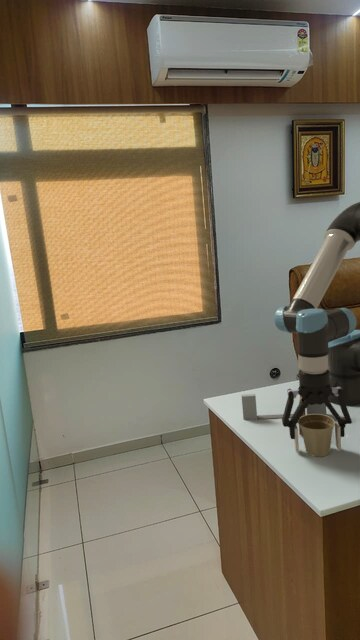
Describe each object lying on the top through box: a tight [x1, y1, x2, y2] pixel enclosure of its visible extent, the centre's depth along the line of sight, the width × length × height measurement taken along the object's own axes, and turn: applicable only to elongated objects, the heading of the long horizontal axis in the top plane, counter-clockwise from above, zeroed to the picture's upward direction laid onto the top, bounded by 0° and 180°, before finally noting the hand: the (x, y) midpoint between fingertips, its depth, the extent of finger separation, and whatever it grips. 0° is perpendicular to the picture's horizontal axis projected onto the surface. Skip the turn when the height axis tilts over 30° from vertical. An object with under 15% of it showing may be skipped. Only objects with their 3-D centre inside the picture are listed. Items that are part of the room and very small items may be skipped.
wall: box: [241, 393, 328, 421], centre depth 132 cm, size 26×2×8 cm, turn 83°
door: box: [298, 395, 307, 436], centre depth 125 cm, size 14×2×8 cm, turn 162°
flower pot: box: [297, 414, 336, 457], centre depth 110 cm, size 9×9×9 cm
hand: (317, 448), depth 110 cm, fingers open, 10 cm apart
